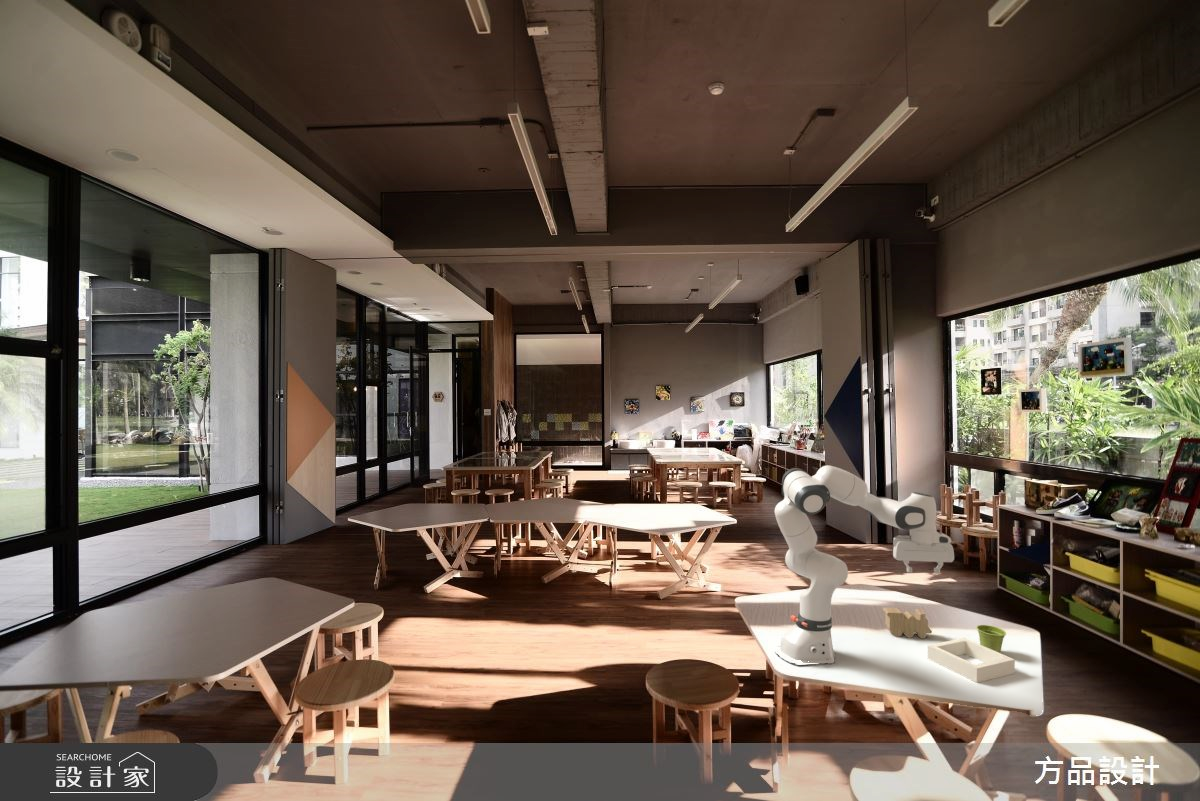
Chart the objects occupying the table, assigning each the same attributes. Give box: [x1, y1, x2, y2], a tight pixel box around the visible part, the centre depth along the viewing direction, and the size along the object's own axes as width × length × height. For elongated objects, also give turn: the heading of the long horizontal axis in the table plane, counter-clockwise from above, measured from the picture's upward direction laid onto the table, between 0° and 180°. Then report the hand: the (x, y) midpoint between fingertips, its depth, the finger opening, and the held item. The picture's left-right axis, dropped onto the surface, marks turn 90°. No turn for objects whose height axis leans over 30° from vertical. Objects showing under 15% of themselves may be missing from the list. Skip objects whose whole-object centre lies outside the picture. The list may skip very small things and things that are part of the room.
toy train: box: [882, 606, 933, 639], centre depth 235 cm, size 6×17×10 cm, turn 81°
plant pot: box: [976, 624, 1007, 653], centre depth 219 cm, size 9×9×9 cm
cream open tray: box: [927, 637, 1016, 684], centre depth 208 cm, size 19×19×5 cm
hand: (923, 572), depth 214 cm, fingers open, 8 cm apart
